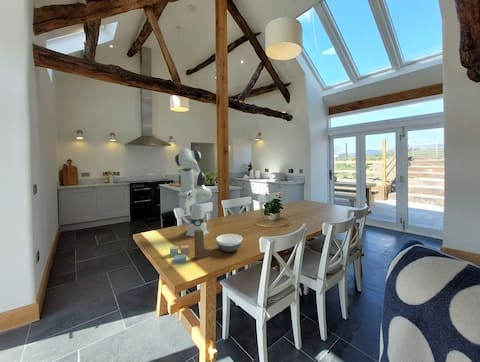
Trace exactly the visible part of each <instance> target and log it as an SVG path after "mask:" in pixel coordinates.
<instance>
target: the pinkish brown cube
mask: <svg viewBox="0 0 480 362" xmlns="http://www.w3.org/2000/svg"><path fill="white" fill-rule="evenodd" d="M181 254H186V256H188V255H190V246H189V244H186V245H184V244H183V245H180V255H181Z"/></svg>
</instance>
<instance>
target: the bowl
mask: <svg viewBox="0 0 480 362" xmlns="http://www.w3.org/2000/svg"><path fill="white" fill-rule="evenodd" d="M243 239H244V238H243V236H242V235H240V234H236V233H224V234H220V235H218V236H217V237H216V238H215V240H216V244H217V246H218V248H219V249H220V250H222V251H224V252H226V253H232V252H235V251H236V250H238V249H240V247H241V246H242V243H243Z"/></svg>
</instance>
